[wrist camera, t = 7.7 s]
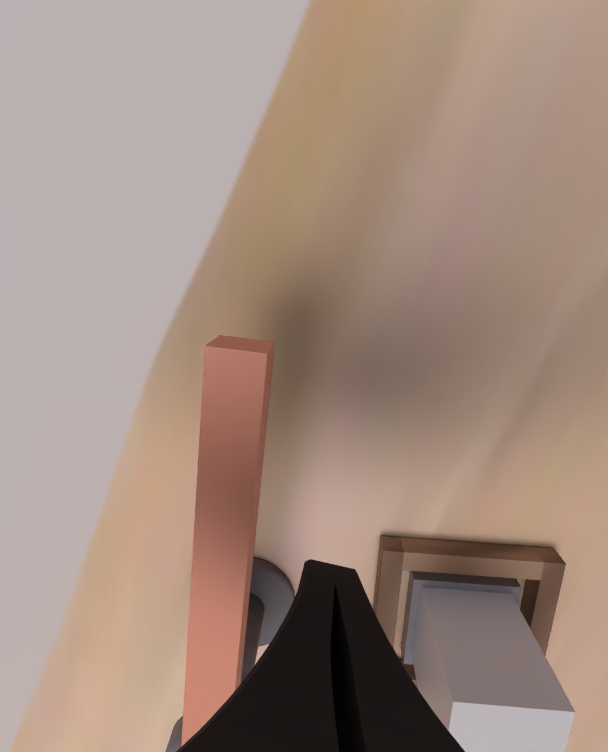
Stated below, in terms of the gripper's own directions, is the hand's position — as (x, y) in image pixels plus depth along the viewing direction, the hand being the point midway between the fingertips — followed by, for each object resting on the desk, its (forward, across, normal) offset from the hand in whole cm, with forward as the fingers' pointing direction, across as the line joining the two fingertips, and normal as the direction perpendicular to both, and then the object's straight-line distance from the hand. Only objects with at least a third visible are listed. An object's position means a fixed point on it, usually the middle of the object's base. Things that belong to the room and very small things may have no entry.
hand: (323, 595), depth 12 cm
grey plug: (+10, -9, +8) cm, 16 cm away
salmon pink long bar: (+3, +3, +3) cm, 5 cm away
